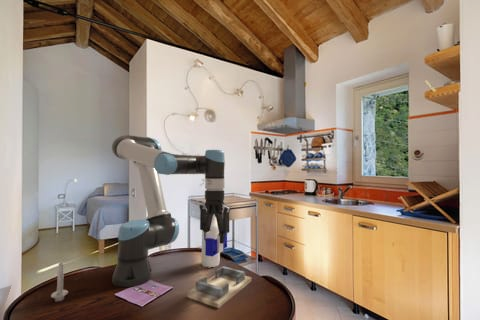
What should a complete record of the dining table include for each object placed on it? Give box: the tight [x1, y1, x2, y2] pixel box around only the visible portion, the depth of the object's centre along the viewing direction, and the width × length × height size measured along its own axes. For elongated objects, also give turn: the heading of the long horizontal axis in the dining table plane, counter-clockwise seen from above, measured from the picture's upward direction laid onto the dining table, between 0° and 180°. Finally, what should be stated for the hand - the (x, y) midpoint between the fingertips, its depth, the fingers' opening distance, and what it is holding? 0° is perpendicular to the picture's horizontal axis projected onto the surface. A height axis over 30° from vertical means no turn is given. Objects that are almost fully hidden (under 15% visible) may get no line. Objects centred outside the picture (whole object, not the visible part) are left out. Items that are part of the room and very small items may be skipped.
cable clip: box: [205, 233, 228, 257], centre depth 97 cm, size 12×4×6 cm, turn 157°
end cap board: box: [186, 265, 253, 309], centre depth 98 cm, size 14×24×4 cm, turn 150°
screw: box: [50, 261, 69, 303], centre depth 88 cm, size 13×5×5 cm
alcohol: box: [200, 214, 221, 269], centre depth 122 cm, size 9×9×30 cm
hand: (214, 250), depth 96 cm, fingers closed on cable clip, 5 cm apart
